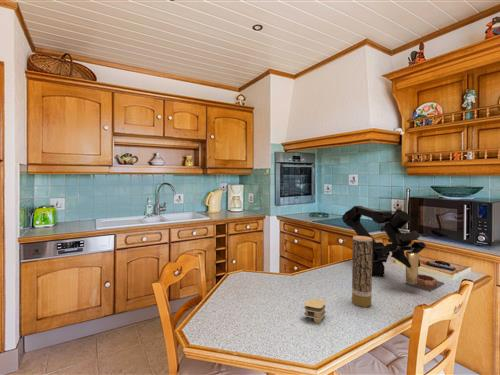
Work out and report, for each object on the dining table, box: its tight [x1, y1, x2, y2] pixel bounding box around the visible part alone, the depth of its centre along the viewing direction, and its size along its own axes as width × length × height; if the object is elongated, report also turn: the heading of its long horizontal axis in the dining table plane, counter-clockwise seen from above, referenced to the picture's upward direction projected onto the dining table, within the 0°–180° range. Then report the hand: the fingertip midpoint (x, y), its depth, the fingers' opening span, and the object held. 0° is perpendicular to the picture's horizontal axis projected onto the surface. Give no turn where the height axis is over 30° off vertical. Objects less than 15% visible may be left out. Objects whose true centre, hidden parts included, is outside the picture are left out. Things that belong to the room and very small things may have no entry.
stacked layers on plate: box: [303, 298, 327, 324], centre depth 91 cm, size 10×9×6 cm
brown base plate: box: [404, 273, 445, 292], centre depth 120 cm, size 14×10×3 cm
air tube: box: [405, 251, 420, 284], centre depth 111 cm, size 4×4×12 cm
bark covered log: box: [351, 235, 373, 308], centre depth 101 cm, size 7×7×25 cm
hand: (414, 267), depth 110 cm, fingers closed on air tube, 4 cm apart
